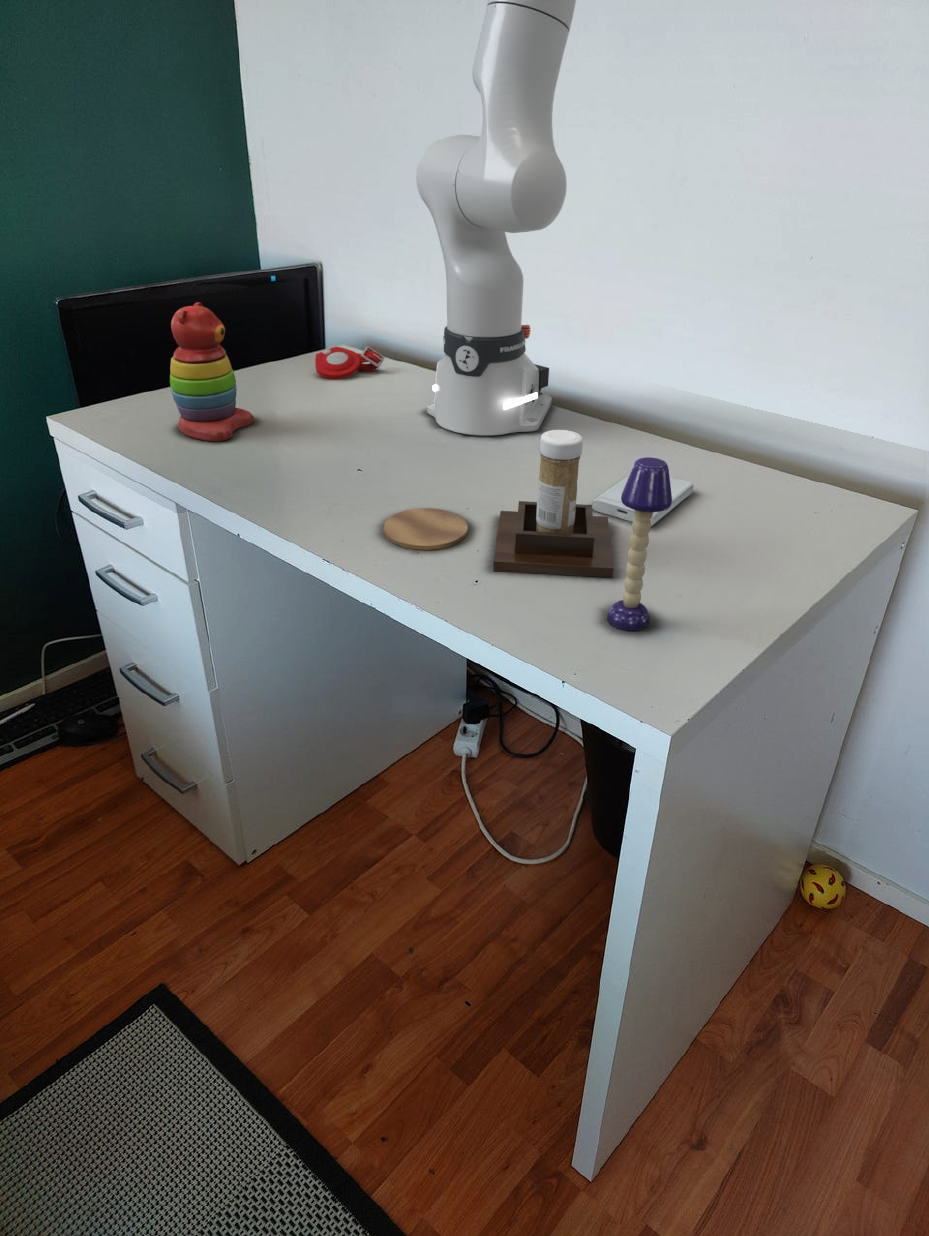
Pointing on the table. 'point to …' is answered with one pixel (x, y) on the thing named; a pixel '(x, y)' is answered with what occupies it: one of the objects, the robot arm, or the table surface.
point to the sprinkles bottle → (558, 481)
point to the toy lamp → (640, 536)
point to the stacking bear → (204, 377)
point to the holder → (553, 544)
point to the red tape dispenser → (345, 362)
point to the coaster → (425, 529)
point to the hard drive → (615, 507)
